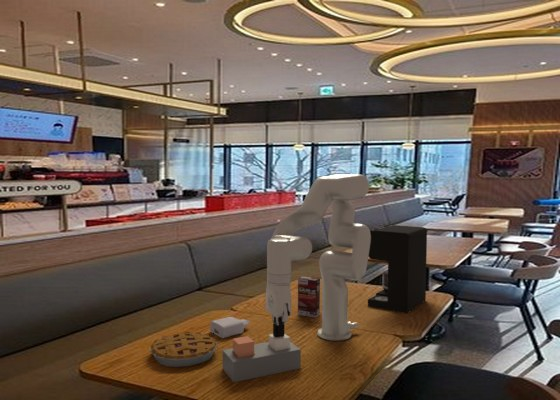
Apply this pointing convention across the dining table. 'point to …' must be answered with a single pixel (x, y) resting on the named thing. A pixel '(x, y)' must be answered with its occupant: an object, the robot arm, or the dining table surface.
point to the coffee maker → (400, 266)
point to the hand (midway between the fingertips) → (278, 335)
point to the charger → (228, 326)
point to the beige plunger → (279, 342)
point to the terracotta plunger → (243, 347)
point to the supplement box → (308, 296)
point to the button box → (261, 362)
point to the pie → (183, 349)
